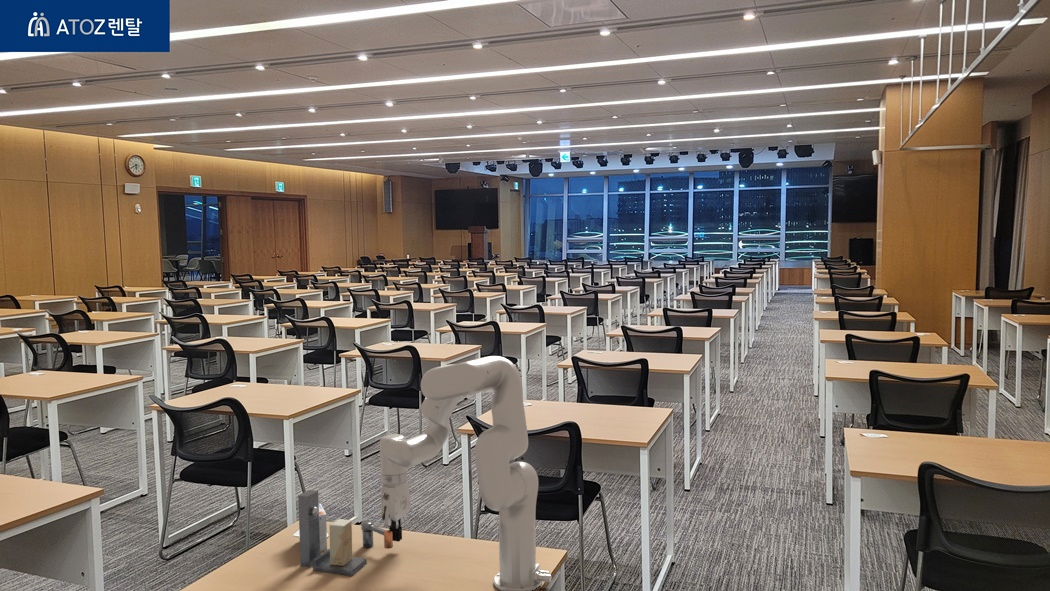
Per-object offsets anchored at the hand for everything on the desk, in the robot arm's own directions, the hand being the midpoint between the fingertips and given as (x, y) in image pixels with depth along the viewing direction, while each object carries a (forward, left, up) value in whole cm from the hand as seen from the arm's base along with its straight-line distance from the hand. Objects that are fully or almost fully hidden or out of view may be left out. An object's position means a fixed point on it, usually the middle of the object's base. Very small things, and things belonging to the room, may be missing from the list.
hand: (395, 539), depth 213 cm
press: (+12, +15, -3) cm, 19 cm away
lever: (+5, +2, -1) cm, 5 cm away
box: (+9, +14, -2) cm, 17 cm away
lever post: (+9, 0, -3) cm, 10 cm away
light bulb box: (+25, +4, -3) cm, 26 cm away
